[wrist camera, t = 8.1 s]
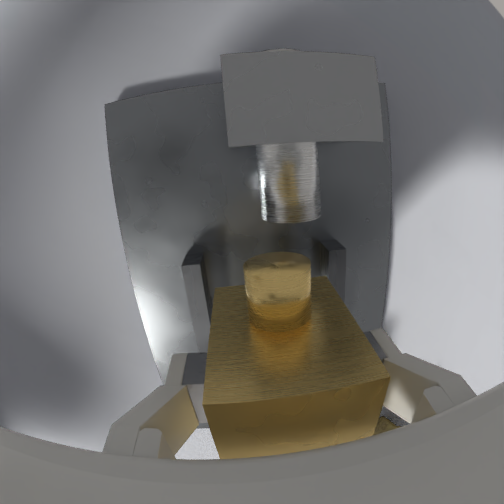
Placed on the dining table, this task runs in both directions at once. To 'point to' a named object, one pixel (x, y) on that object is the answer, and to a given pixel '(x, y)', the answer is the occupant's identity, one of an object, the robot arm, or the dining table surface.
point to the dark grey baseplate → (252, 186)
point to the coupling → (287, 364)
